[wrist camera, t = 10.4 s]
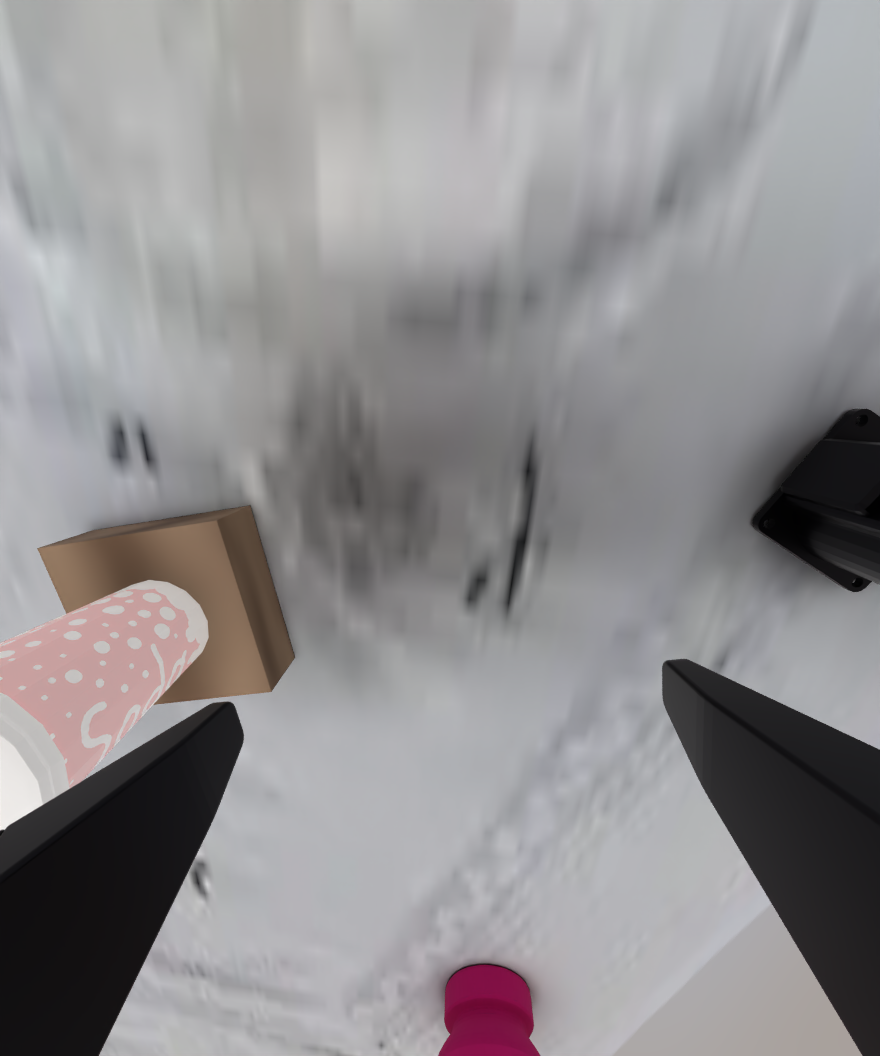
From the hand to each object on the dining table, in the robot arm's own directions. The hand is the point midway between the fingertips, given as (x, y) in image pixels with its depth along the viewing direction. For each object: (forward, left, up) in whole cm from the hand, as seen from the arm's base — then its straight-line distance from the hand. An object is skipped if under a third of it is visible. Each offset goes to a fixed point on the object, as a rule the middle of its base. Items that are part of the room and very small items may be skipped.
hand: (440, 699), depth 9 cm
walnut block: (+10, +11, -13) cm, 20 cm away
